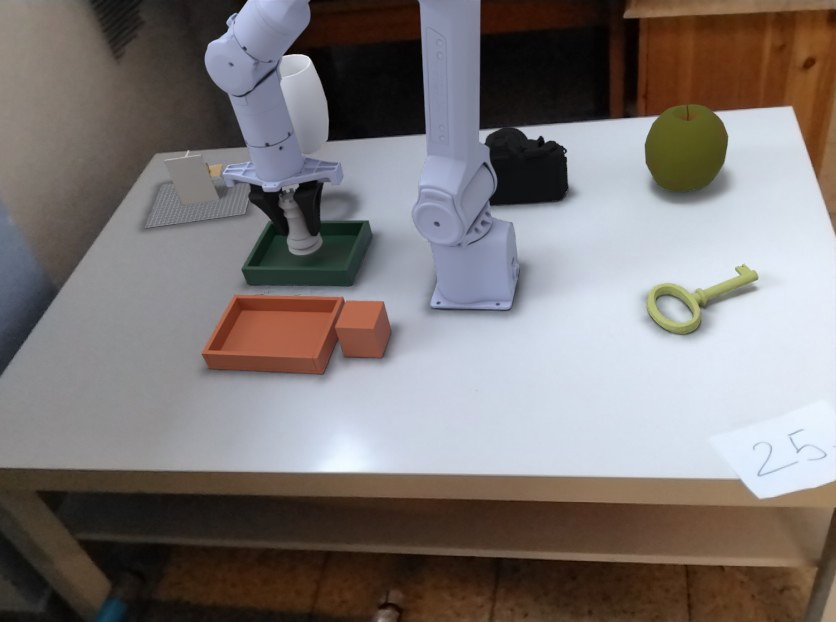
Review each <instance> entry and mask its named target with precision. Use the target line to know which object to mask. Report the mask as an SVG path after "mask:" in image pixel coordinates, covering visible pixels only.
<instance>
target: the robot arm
mask: <svg viewBox="0 0 836 622" xmlns="http://www.w3.org/2000/svg"><path fill="white" fill-rule="evenodd" d="M310 1H311V0H247V1H246V3H245V4H244V5H243V7H242V8H241V10H240V11H238V13H237V12H235V13H233V14H232V15H230V16H229V18H228V19H227V21H226V25H227V32H225V33H224V34H223V35H221V36H220V37H219V38H218V39H215V40H212V41H211V42H209V43H208V45H207V49H206V51H205V55H204V65H205V68H206V71H207V74H208V75H209V77H210V78H211V80H212V81H213V82H214V84H215V85H216V86H217V87H218V88H219V89H221V90H222V91H223V92H225V93H226V94H227V95H228V98H229V101H230V103H231V106H232V110H233V112H234V114H235V117H236V120H237V123H238V125H239V129H240V131H241V134H242V137H243V139H244V142H245V145H246V148H247V150H248V153H249V157H250V159H251V161H245V162H241V163H234V164H228V165H227V166H226V167H225V169H224V171H222V176H223V177H224V179H225V182H226V185H227V187H235V186H236V185H237V184H249V185H250V190H251V191H250V193H249V194H248V198H249V202H250V203H251V204H252V205H254V206H255V207H256V208H258V209H259V210H261V211H262V212H263V214H265V215H266V216H267V218H268V219H269V221H272V222H273V223H274V225H275V226H276V227H277V229H278V230H279V232H280V233H281V235H282V236H288V232H289V227H288V221H287V218H286V217H285V216H284V214H283V213H284V209H282V208H281V207H279V205H278V202H279V200H280V199H279V194H282V195H283V193H282V191H284V189H283V188H284V187H285V188H286V187H289V186H293V185H298V187H297V188H295V189H296V191H295V190H294V191H295V193H294V195H293V199H294V200H295V202H296V203H297V204H298V206H299V208H300V209H301V211H302V213H303V215H304V218H305V221H306V224H307V227H308V230H309V232H310V234H311V236H317V235H318V233H319V231H320V229H321V221H322V219H321V203H322V196H323V195H322V194H323V189H324V184H325V183H330V185H331V186H340V185H341V183H342V182H343V179H344V177H345V175H344V171H343V167H342V163H341V162H340V161H329V160H324V159H319V158H314V157H310V156H305V155H303V154H302V153H301V150H300V147H299V144H298V141H297V137H296V134H295V131H294V128H293V125H292V121H291V118H290V115H289V111H288V108H287V105H286V102H285V98H284V95H283V92H282V89H281V86H280V83H281V80H282V77H281V74H280V70H279V67H280V64H281V61H282V57H283V56H284V54H285V53H286V52H287V51H288V49H290V48H291V46H292V45H293V44H294V42H295V41H296V40H297V39H298V38H299V36H301V34H302V33H303V32H304V31H305V29H306V28H307V27H308V25H309V24H310V21H311V9H310V5H309V2H310ZM417 1H418V3H419V12H420V33H421V34H420V35H421V55H422V73H423V74H422V75H423V77H422V78H423V96H424V99H423V100H424V118H425V119H424V120H425V139H426V140H425V141H426V142H425V143H426V158H425V161H424V164H423V167H422V170H421V174H420V177H419V179H418V184H417V198H416V201H415V202H414V204H413V206H412V209H411V220H412V223H413V225H414V227H415V229H416V231H417V232H418V233H419V234H420V235H421V236H422V237H423V238H424V239H426V240H427V242H428V243H429V245H430V249H431V254H432V259H433V265H434V269H435V275H436V280H437V281H436V283H435V288H434V291H433V293H432V296H431V299H430V303H429V305H430V307H431V309H432V308H433V309H458V310H459V309H463V310H464V309H465V310H503V311H505V310H510V309H511V308H512V305H513V301H514V295H515V291H516V287H517V282H518V279H519V273H520V269H521V266H520V265H521V264H520V263H519V258H518V249H517V248H518V247H517V238H516V232H515V231H516V230H515V225H514V223H513V222H512V221H510V220H509V221H508V220H502V219H498V218H496V217H494V216H492V213H491V205H490V203H489V200H488V199H489V198H490V197H491V196H492V195H493V194H494V192H495V190H496V187H497V177H496V174H495V171H494V169H493V167H492V165H491V162H490V156H489V151H490V149H489V147H487V146H486V145H484V143H482V142H481V141H480V104H481V103H480V100H481V99H480V95H481V91H480V90H481V89H480V88H481V85H480V83H481V82H480V81H481V0H417Z"/></svg>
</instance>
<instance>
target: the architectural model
mask: <svg viewBox="0 0 836 622" xmlns="http://www.w3.org/2000/svg"><path fill="white" fill-rule="evenodd" d="M189 153H190V150H188V149H187V152H186V153H185V155H184V156H182V157H174V158H168V159H163V162H164V165H165V168H167V172H168V174H169V176H170V178H171V182H172V183H165V184H161V186H160V189H159V191H158V194H157V195H156V196H157V197H156V199H155V202H154V203H153V206H152V209H151V212H150V214H149V216H148V218H147V221H146V224H145V226H144V229H149V228H157V227H163V226H169V225H171V226H172V225H178V224H184V223H191V222H198V221H205V220H213V219H219V218H226V217H234V216H241V215H246V211H247V207H248V203H249V202H250V200H249V198H248V194H249V193H250V191H251V190H250V185H249V184H237V185H236V186H235V187H227V185H226V182H225V179H224V177H223V175H222V174H223V169H224V164H223V163H220V164H214V165H209V164H208V162H205V160H204V158H203V154H201V153H200V154H194V155H189Z"/></svg>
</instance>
